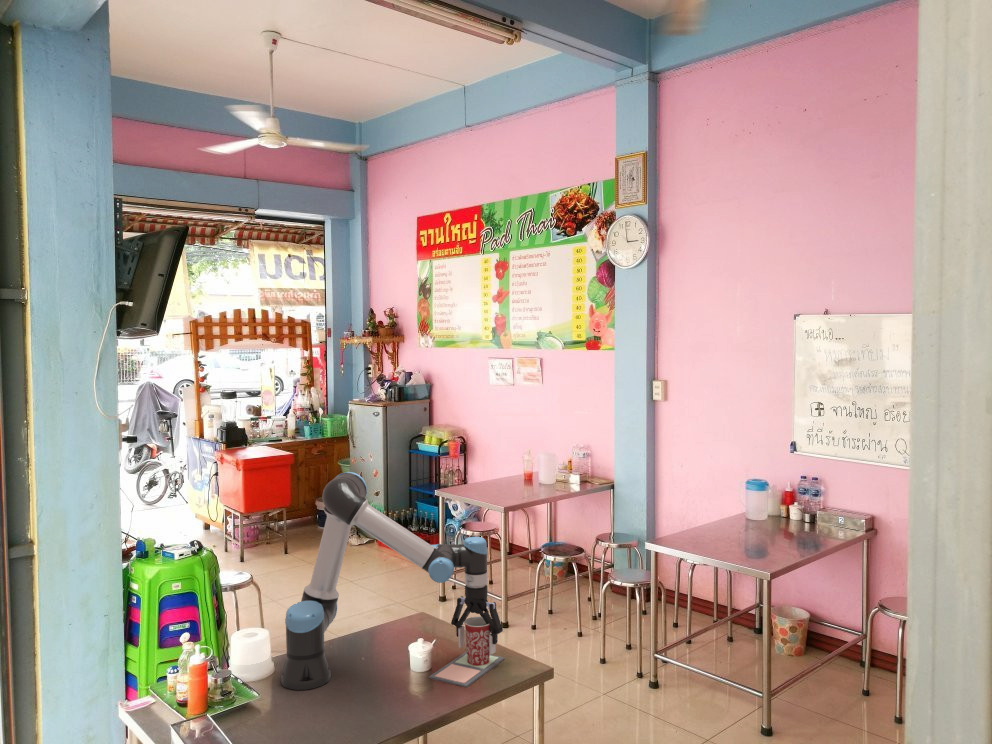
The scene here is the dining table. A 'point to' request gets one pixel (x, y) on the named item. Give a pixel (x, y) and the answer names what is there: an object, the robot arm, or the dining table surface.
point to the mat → (464, 671)
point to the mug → (477, 641)
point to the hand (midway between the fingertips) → (476, 649)
